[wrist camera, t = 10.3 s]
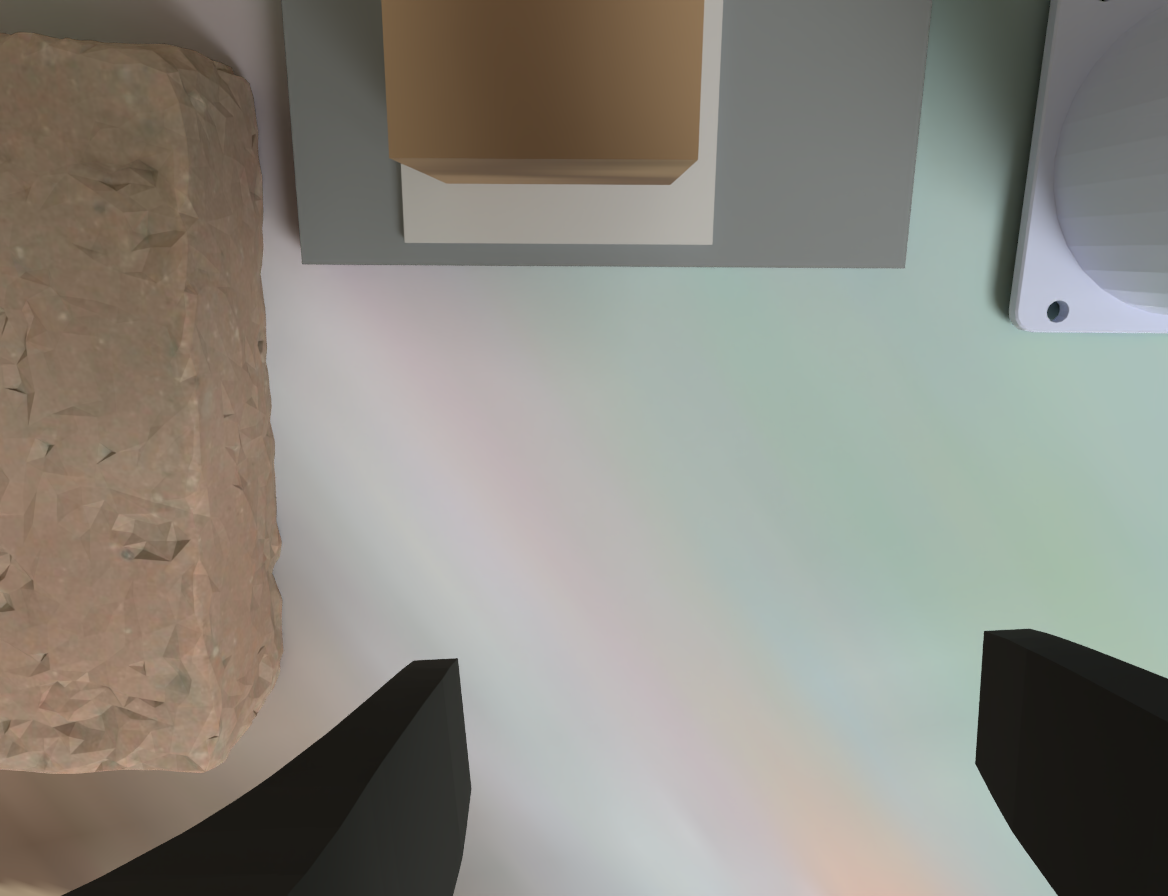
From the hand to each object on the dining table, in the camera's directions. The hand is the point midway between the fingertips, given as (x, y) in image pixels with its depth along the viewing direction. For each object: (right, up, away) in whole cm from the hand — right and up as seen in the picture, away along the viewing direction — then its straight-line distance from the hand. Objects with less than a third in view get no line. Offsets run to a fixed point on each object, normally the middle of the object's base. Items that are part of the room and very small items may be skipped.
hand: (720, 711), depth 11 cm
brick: (-14, +5, +10) cm, 18 cm away
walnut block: (-2, +12, +6) cm, 14 cm away
